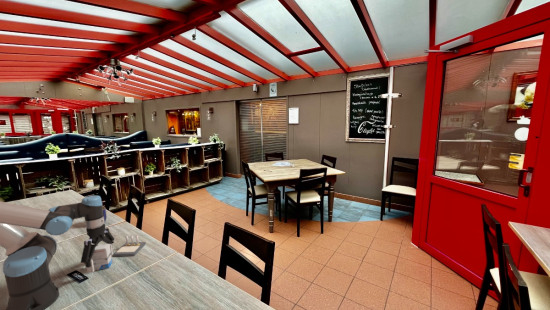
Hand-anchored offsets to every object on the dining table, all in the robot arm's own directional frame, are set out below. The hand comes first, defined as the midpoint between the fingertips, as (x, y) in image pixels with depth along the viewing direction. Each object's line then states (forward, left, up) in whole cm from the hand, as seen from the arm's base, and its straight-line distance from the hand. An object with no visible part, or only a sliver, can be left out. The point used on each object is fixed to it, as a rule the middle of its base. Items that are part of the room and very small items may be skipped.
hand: (101, 263), depth 114 cm
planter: (+52, +39, -3) cm, 65 cm away
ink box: (0, 0, -3) cm, 3 cm away
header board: (+15, -6, -2) cm, 16 cm away
